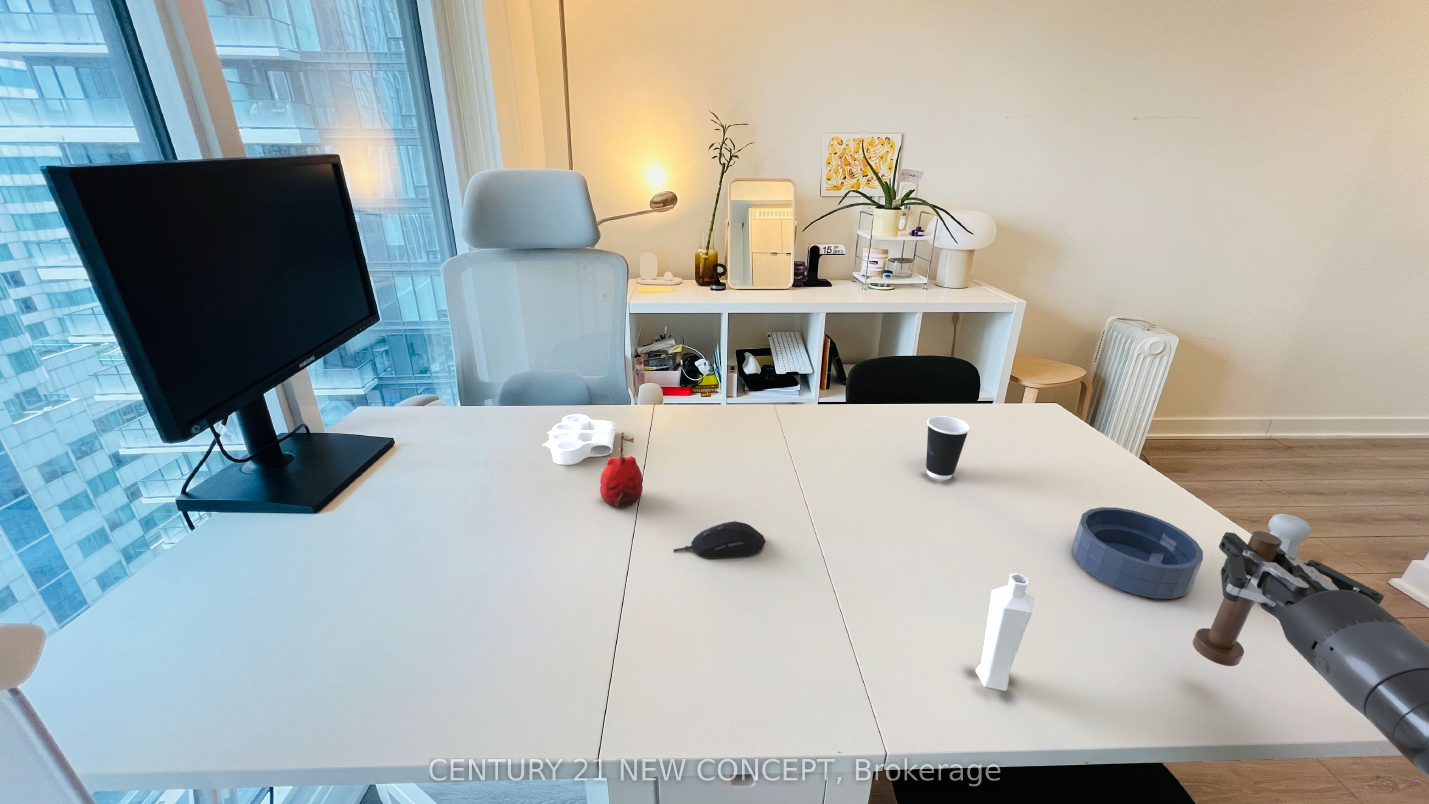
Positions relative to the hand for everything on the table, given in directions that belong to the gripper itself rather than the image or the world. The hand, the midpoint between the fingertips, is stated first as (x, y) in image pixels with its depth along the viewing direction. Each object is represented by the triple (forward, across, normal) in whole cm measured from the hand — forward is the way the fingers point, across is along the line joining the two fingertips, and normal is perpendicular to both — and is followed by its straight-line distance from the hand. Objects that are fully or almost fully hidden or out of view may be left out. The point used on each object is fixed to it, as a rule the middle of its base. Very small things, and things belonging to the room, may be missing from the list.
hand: (1240, 540), depth 67 cm
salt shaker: (+18, -19, +19) cm, 32 cm away
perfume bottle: (-6, +24, +20) cm, 32 cm away
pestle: (-3, 0, +14) cm, 14 cm away
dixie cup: (+46, +22, +20) cm, 54 cm away
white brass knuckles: (+44, +96, +20) cm, 108 cm away
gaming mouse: (+14, +61, +20) cm, 66 cm away
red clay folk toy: (+24, +81, +20) cm, 86 cm away
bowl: (+21, -2, +19) cm, 29 cm away
